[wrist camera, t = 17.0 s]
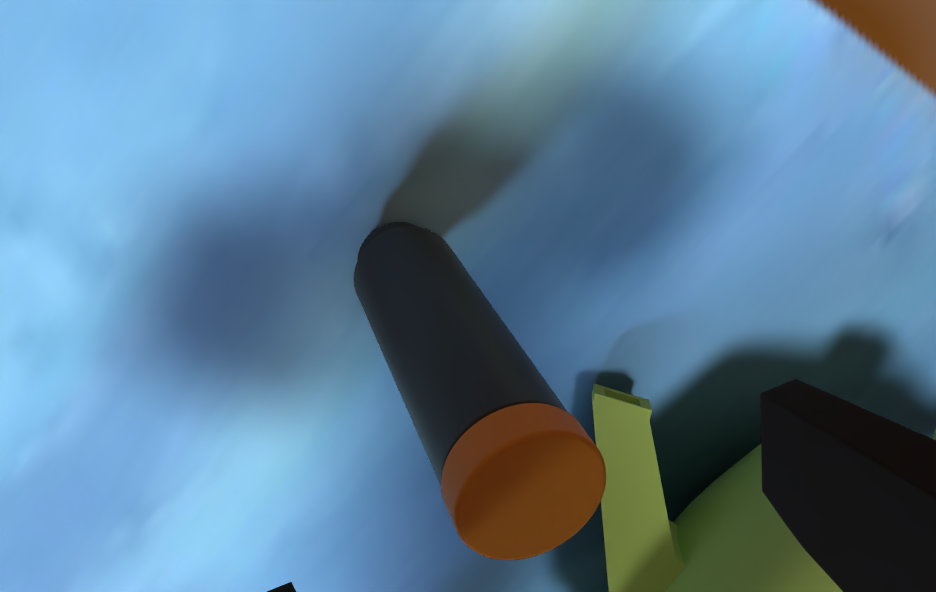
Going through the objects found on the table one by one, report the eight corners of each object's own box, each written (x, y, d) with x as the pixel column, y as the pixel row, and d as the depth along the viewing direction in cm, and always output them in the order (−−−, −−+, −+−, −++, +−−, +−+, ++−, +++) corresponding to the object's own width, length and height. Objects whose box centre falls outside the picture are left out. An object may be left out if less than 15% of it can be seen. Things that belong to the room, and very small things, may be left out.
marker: (448, 272, 20) (616, 525, 13) (354, 305, 20) (473, 585, 13) (425, 185, 19) (599, 409, 12) (325, 218, 19) (438, 472, 11)
